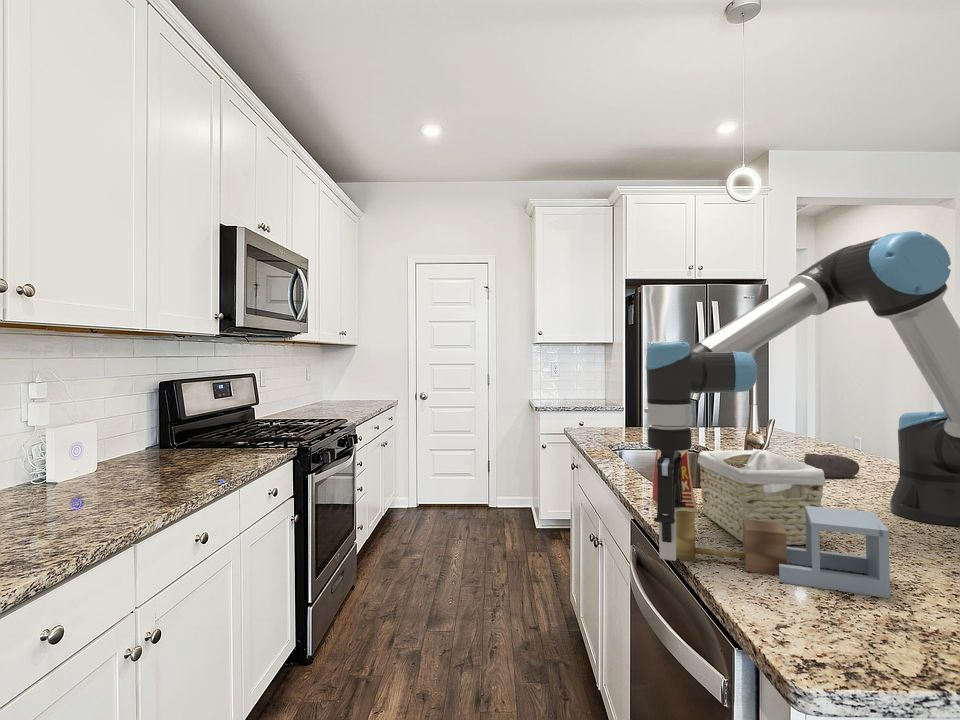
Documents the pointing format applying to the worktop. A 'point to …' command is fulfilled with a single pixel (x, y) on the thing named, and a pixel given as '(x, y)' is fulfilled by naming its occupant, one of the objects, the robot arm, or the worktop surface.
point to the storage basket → (759, 490)
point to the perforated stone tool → (833, 465)
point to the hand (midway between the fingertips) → (671, 550)
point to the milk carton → (686, 483)
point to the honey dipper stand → (759, 544)
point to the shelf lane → (846, 582)
